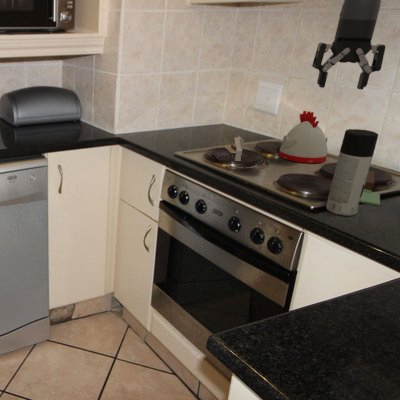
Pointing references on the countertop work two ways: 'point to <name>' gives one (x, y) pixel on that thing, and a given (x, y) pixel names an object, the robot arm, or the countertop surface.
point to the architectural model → (238, 151)
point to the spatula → (370, 191)
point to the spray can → (351, 171)
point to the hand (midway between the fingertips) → (340, 88)
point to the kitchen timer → (305, 141)
